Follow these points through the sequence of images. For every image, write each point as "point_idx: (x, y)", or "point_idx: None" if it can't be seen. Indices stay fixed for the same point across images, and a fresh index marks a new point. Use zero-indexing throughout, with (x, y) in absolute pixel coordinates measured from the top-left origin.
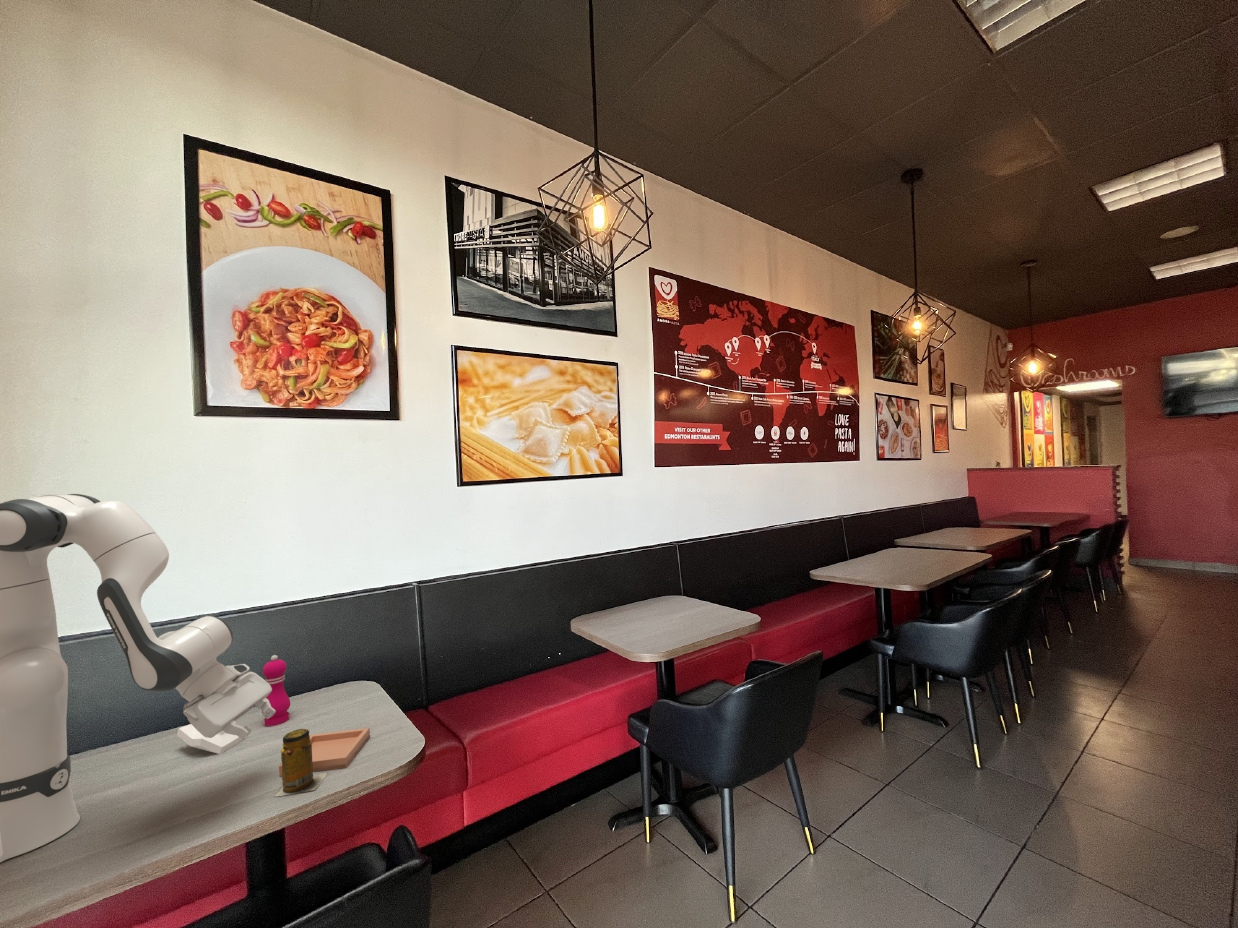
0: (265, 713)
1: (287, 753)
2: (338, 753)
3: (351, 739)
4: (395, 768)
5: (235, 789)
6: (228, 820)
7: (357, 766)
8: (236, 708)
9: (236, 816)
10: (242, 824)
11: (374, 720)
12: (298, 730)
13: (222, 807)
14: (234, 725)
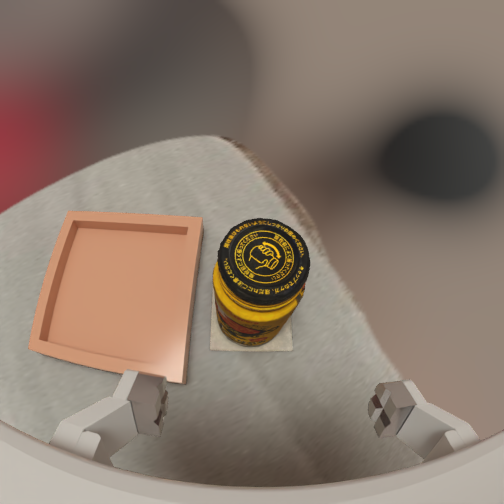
0: (158, 417)
1: (304, 287)
2: (139, 258)
3: (79, 250)
4: (243, 151)
5: (222, 471)
6: (360, 406)
7: (206, 211)
8: (437, 496)
9: (350, 397)
10: (379, 364)
11: (10, 237)
12: (234, 257)
13: (304, 456)
14: (460, 424)
